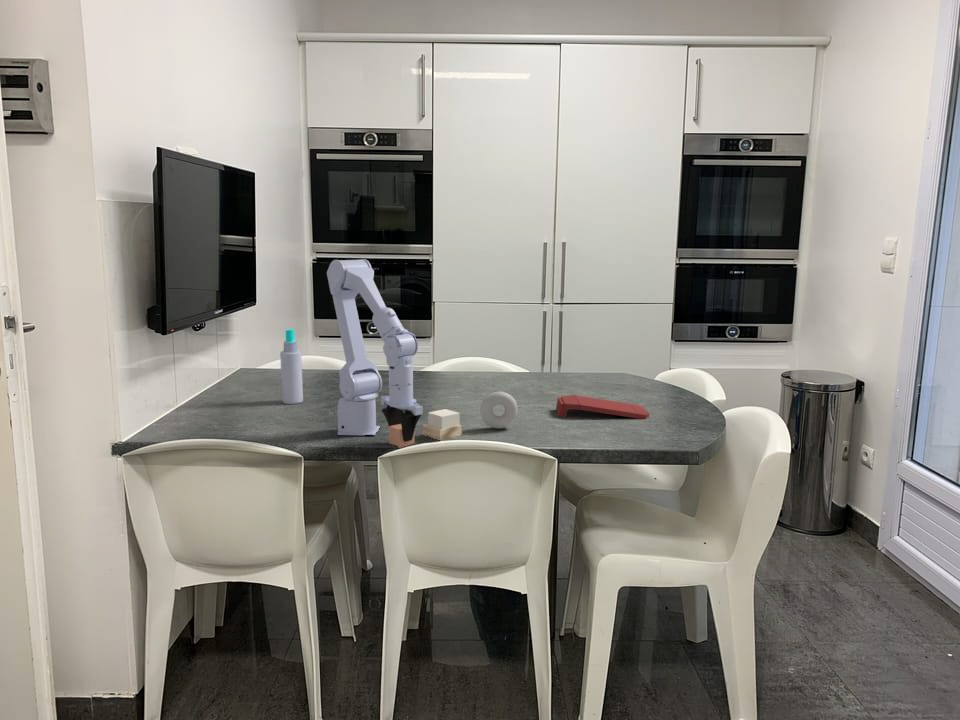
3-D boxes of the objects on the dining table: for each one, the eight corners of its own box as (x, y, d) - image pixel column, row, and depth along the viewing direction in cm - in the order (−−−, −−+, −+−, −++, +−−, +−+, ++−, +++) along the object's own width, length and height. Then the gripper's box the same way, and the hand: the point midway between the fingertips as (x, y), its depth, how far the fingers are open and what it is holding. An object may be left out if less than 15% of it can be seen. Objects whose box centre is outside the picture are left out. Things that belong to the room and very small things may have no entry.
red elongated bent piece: (638, 421, 215) (554, 408, 215) (641, 405, 215) (557, 392, 214) (647, 432, 203) (559, 418, 203) (651, 415, 203) (562, 401, 202)
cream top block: (442, 429, 181) (441, 416, 180) (428, 424, 185) (428, 412, 184) (459, 425, 184) (459, 413, 184) (445, 421, 188) (445, 408, 188)
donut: (480, 430, 190) (480, 393, 188) (479, 427, 193) (479, 390, 191) (518, 429, 191) (519, 392, 189) (516, 426, 194) (516, 389, 192)
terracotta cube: (399, 447, 174) (399, 430, 174) (389, 443, 178) (388, 426, 177) (414, 444, 177) (414, 426, 177) (403, 440, 181) (403, 423, 180)
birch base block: (440, 442, 180) (440, 430, 180) (422, 436, 185) (422, 424, 185) (461, 437, 185) (461, 425, 184) (444, 432, 190) (444, 420, 189)
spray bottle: (297, 405, 217) (294, 331, 213) (278, 404, 218) (275, 330, 214) (306, 400, 222) (303, 328, 219) (288, 399, 224) (285, 328, 220)
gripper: (432, 386, 172) (433, 441, 175) (397, 376, 183) (398, 429, 185) (408, 390, 168) (409, 447, 170) (373, 380, 178) (374, 434, 181)
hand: (401, 438), depth 177 cm, fingers closed on terracotta cube, 4 cm apart
